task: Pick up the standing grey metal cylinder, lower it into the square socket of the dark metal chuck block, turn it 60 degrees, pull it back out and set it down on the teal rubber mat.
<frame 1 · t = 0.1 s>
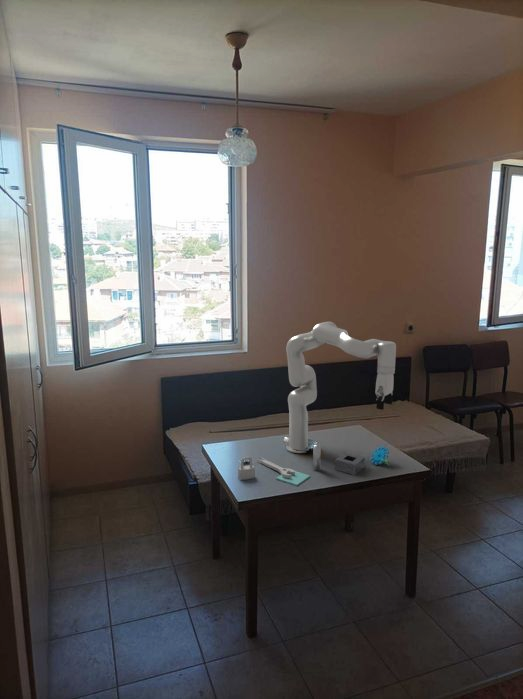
hand: (384, 406, 222), 31 cm above the table, fingers open, 9 cm apart
adjustable wrench: (276, 468, 230), on the table, touching mat
chuck block: (349, 468, 231), on the table
mat: (293, 478, 221), on the table
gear: (380, 463, 237), on the table
metal cylinder: (316, 469, 230), on the table
padlock: (246, 478, 221), on the table
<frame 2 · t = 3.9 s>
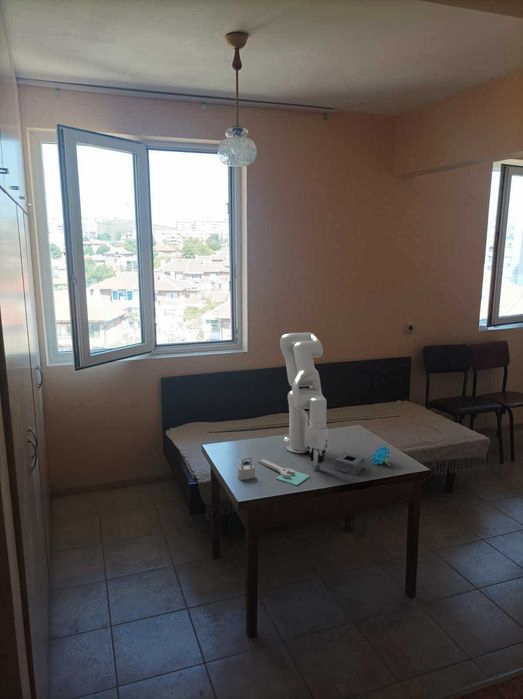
hand: (316, 460, 229), 4 cm above the table, fingers closed on metal cylinder, 3 cm apart
metal cylinder: (316, 469, 230), on the table, touching gripper
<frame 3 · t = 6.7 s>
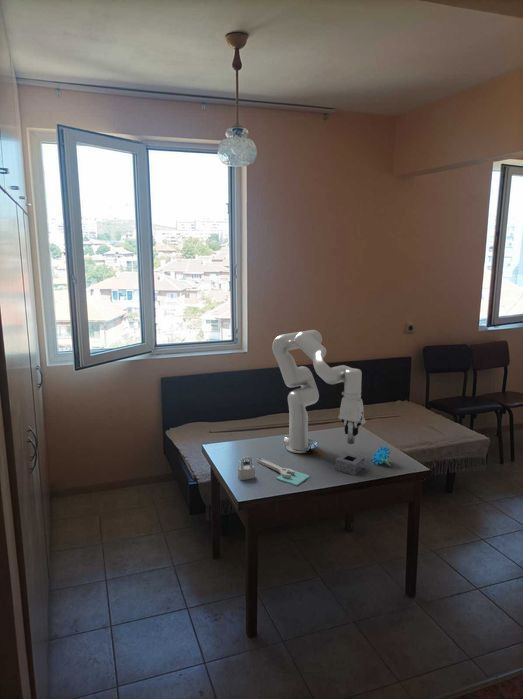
hand: (351, 433, 227), 17 cm above the table, fingers closed on metal cylinder, 3 cm apart
metal cylinder: (350, 442, 228), point 13 cm above the table, touching gripper
everything else where it was.
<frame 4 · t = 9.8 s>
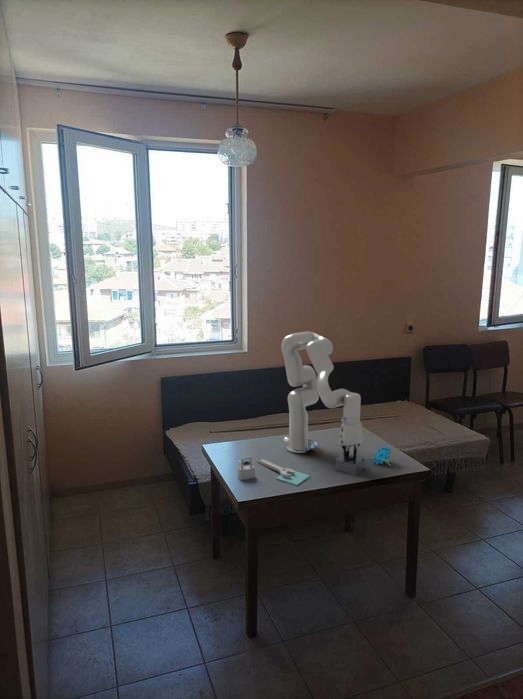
hand: (349, 457, 230), 6 cm above the table, fingers closed on metal cylinder, 3 cm apart
metal cylinder: (349, 465, 230), point 1 cm above the table, touching gripper
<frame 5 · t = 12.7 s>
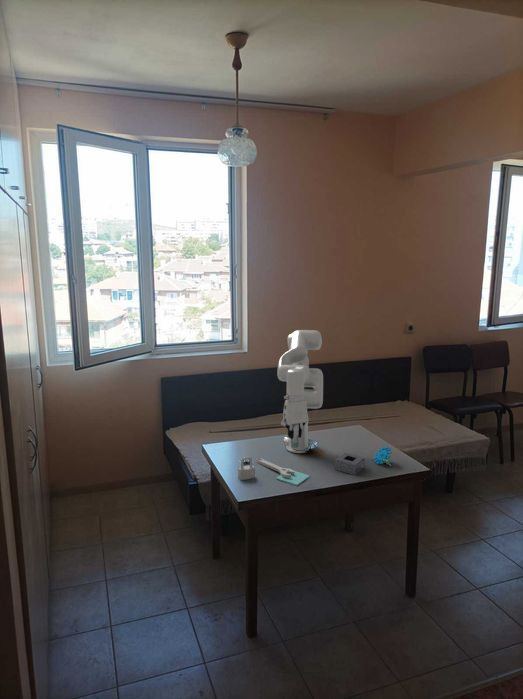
hand: (294, 437, 217), 19 cm above the table, fingers closed on metal cylinder, 3 cm apart
metal cylinder: (294, 446, 218), point 15 cm above the table, touching gripper
when the fingers open (6 cm above the table, at t = 15.6 s): metal cylinder moves 2 cm and tips over, point 3 cm above the table.
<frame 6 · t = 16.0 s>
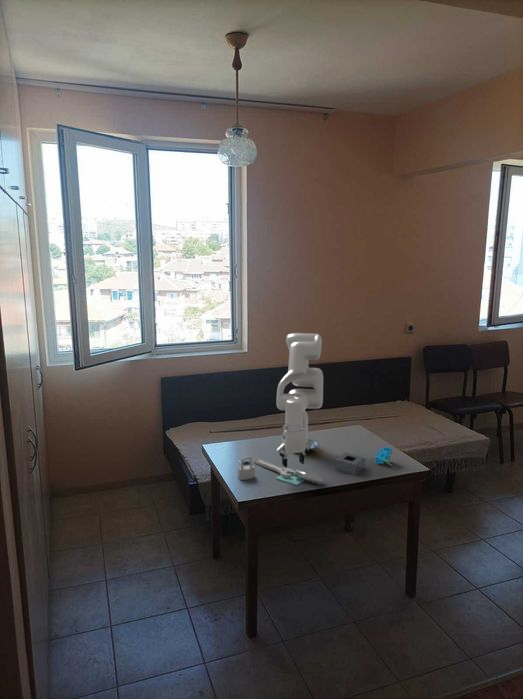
hand: (293, 464, 220), 7 cm above the table, fingers open, 7 cm apart
metal cylinder: (296, 473, 219), point 3 cm above the table, tilted 98°
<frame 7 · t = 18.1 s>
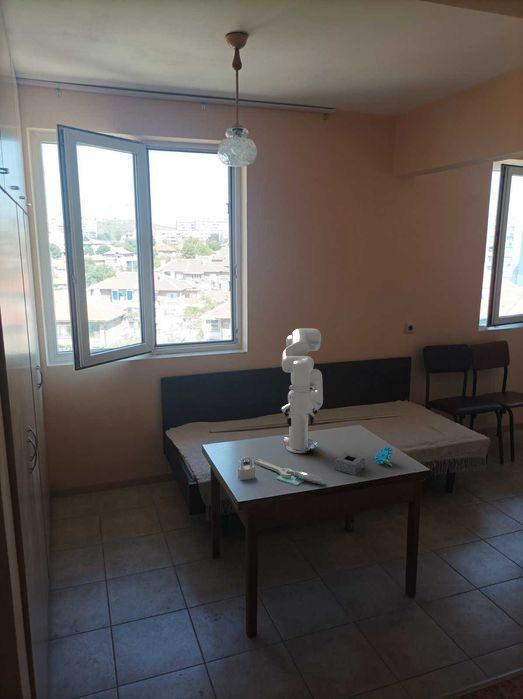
hand: (300, 424, 220), 24 cm above the table, fingers open, 9 cm apart
metal cylinder: (295, 473, 219), point 3 cm above the table, tilted 94°, touching mat
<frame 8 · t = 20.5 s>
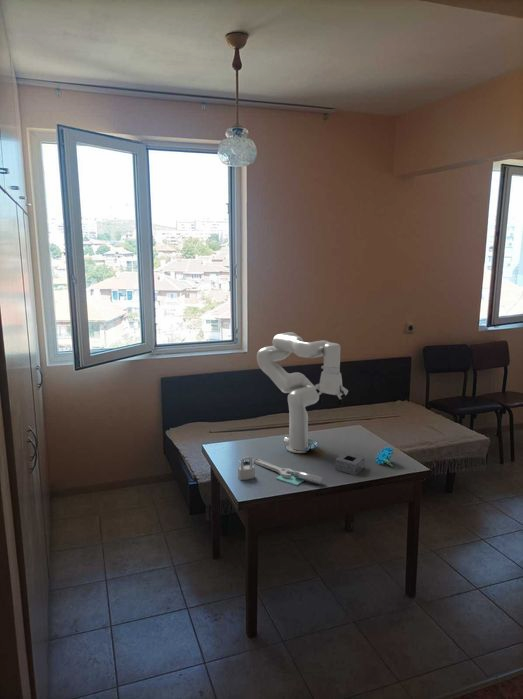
hand: (330, 404, 234), 28 cm above the table, fingers open, 9 cm apart
at the end: metal cylinder 1.7 cm from the mat (horizontally); metal cylinder point 2.6 cm above the table; the gripper is holding nothing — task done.
